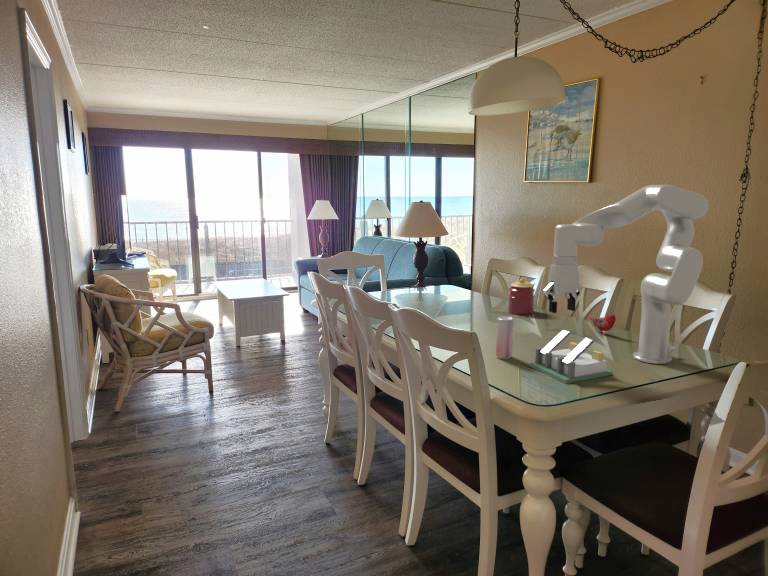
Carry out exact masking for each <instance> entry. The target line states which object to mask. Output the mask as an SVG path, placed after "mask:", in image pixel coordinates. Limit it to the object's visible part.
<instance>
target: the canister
mask: <svg viewBox="0 0 768 576" xmlns="http://www.w3.org/2000/svg"><path fill="white" fill-rule="evenodd" d="M533 287H534V284H532V283H531V282H529V281H526V280H525V279H524V278H523V277H521V278H520V279H519V281H518V280H517V281H513V282H512V283H511V284H510V288H508V291H509V293H508V295H507V296H508V301H507V302H508V305H507V310H508V313H509V314H514V315H521V316H522V315H523V316H525V315H532V314H533V313H534V312H535V298H536V296H535V295H534V294H535V291H536V289H535V288H533Z"/></svg>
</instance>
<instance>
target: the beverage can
mask: <svg viewBox="0 0 768 576" xmlns="http://www.w3.org/2000/svg"><path fill="white" fill-rule="evenodd" d="M495 332H496V336H495V337H496V338H495V356H496V358H497V357H498V358H497V359H499V358H502V359H501V360H510V359H511V358H512V357H513V339H514V318H513V317H511V316H498V317H497V319H496V331H495ZM509 358H510V359H509Z"/></svg>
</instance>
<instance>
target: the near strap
mask: <svg viewBox="0 0 768 576" xmlns="http://www.w3.org/2000/svg"><path fill="white" fill-rule="evenodd" d="M593 343H595V341H594V339H593V338H592V339H591V338H588V337H585V338H584V339H583V340H581V342H579V343H578V344H579V345H578V346H577V347H576V348H575V349H574V350H573V351H572V352H570V353H569V354H568V355H567V356H566V357H565V358H564V359H563V360H562V363H564V364H567V365H568V362H574V361H575V360H576V359H577V358H578V357H579V356H580V355H581V354H582V353H583V352H584V353H585V351H586V350H587V349H588V348H589V347H590V346H592V344H593Z"/></svg>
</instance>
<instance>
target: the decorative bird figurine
mask: <svg viewBox="0 0 768 576" xmlns="http://www.w3.org/2000/svg"><path fill="white" fill-rule="evenodd" d="M586 316H587V317H588V319H590V321H592V322H593V324H594V326H595V327H596V328H597V329H598V330H599V331H600V332H599V334H601V335H603V336H607V334H606V333H605V332H608V331H610V330H611V329H612V328H613V327H614V325H615V323H616V322H617V319H616V315H614V314H613V313H611V314H608V315H606V316H604V317H597V318H594V317H592V316H590V315H588V314H587V315H586Z"/></svg>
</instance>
